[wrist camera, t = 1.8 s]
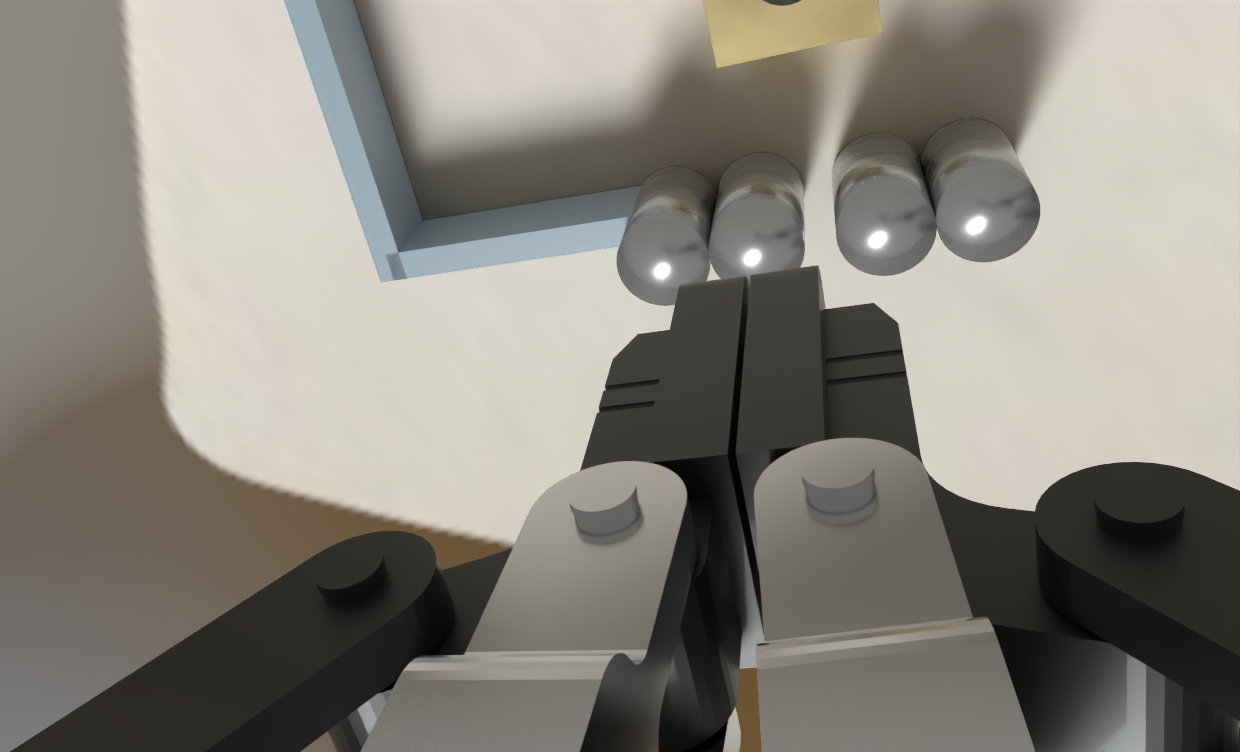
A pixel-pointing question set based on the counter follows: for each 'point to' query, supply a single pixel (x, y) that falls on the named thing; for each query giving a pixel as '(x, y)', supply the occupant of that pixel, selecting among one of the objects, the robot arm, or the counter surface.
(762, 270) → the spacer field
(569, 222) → the parts bay
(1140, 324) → the counter surface
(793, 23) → the yellow knobbed block
